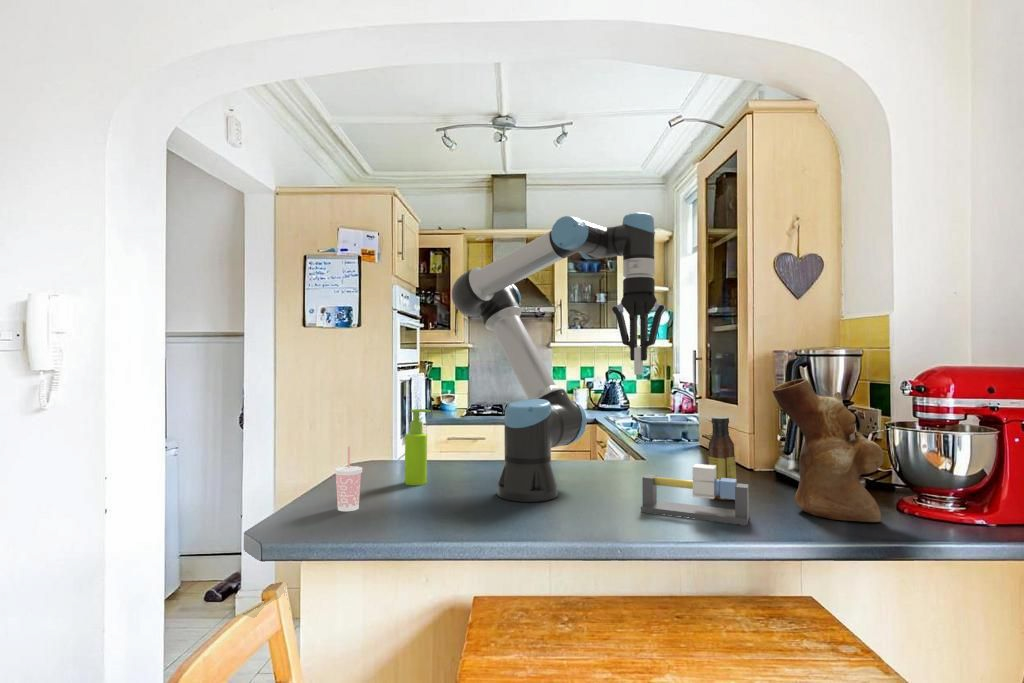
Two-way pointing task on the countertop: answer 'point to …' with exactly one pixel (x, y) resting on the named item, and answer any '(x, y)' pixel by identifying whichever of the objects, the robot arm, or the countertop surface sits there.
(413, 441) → the soap dispenser
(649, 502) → the twin post rod stand
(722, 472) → the sauce bottle
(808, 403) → the ceramic vessel
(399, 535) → the countertop surface
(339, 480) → the beverage cup
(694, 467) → the sleeve
